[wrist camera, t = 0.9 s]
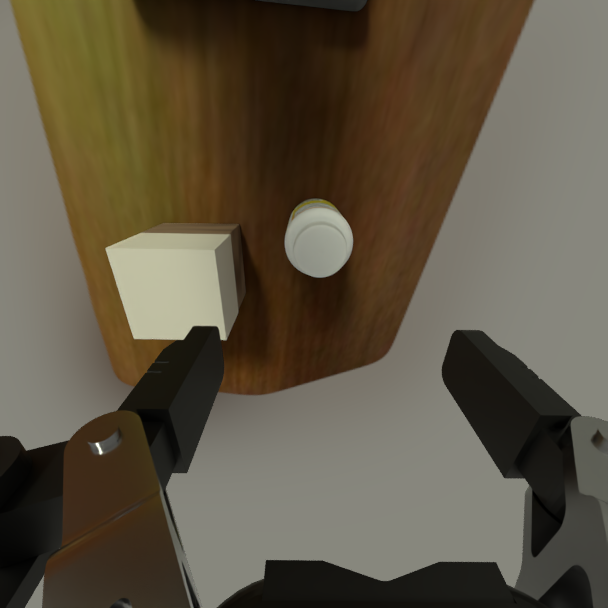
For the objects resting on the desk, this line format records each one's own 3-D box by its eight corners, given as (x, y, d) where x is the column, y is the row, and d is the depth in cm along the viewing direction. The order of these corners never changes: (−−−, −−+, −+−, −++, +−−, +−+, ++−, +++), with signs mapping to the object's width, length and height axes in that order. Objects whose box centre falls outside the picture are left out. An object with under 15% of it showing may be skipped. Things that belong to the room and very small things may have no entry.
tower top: (141, 232, 25) (105, 248, 20) (230, 234, 25) (214, 250, 20) (160, 311, 28) (133, 338, 24) (238, 312, 28) (226, 340, 24)
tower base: (164, 222, 29) (139, 233, 25) (240, 223, 29) (228, 234, 25) (179, 291, 33) (159, 311, 28) (246, 292, 33) (237, 312, 28)
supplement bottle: (320, 260, 31) (327, 301, 22) (278, 231, 29) (267, 262, 20) (352, 218, 29) (374, 243, 20) (309, 185, 27) (311, 195, 18)
